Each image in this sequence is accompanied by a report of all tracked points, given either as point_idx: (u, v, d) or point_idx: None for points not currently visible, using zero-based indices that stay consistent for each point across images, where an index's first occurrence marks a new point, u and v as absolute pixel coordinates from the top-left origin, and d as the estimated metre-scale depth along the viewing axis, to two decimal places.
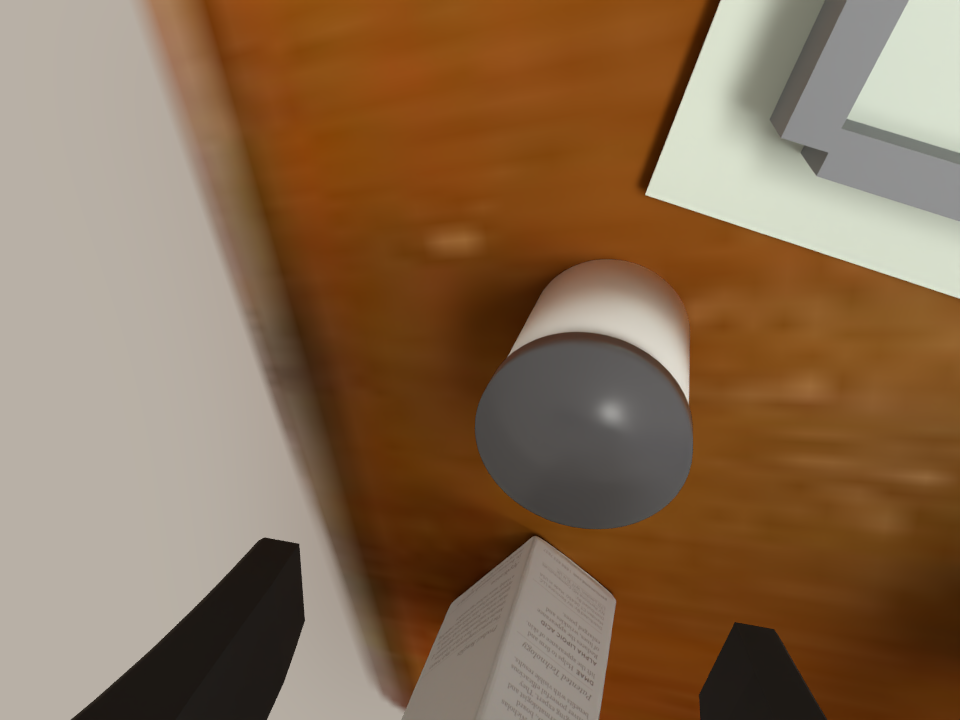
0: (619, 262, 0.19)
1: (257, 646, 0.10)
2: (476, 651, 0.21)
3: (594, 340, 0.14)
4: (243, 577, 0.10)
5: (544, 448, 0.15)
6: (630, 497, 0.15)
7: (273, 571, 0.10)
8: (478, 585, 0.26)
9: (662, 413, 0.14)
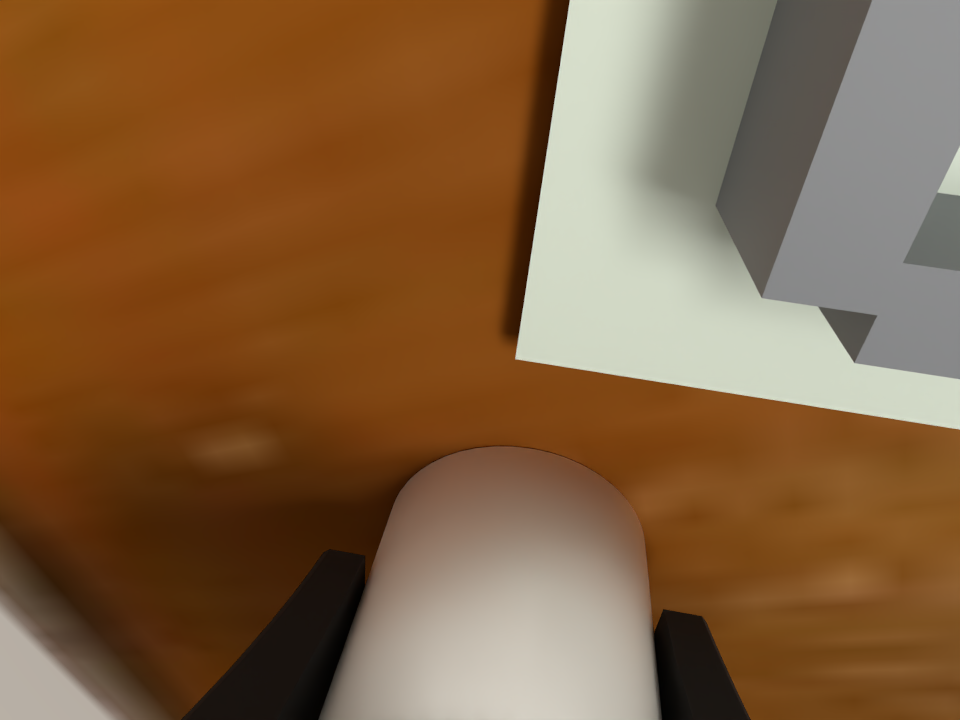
0: (502, 454, 0.11)
1: (330, 660, 0.10)
2: None
3: None
4: (315, 590, 0.10)
5: None
6: None
7: (344, 584, 0.10)
8: None
9: None
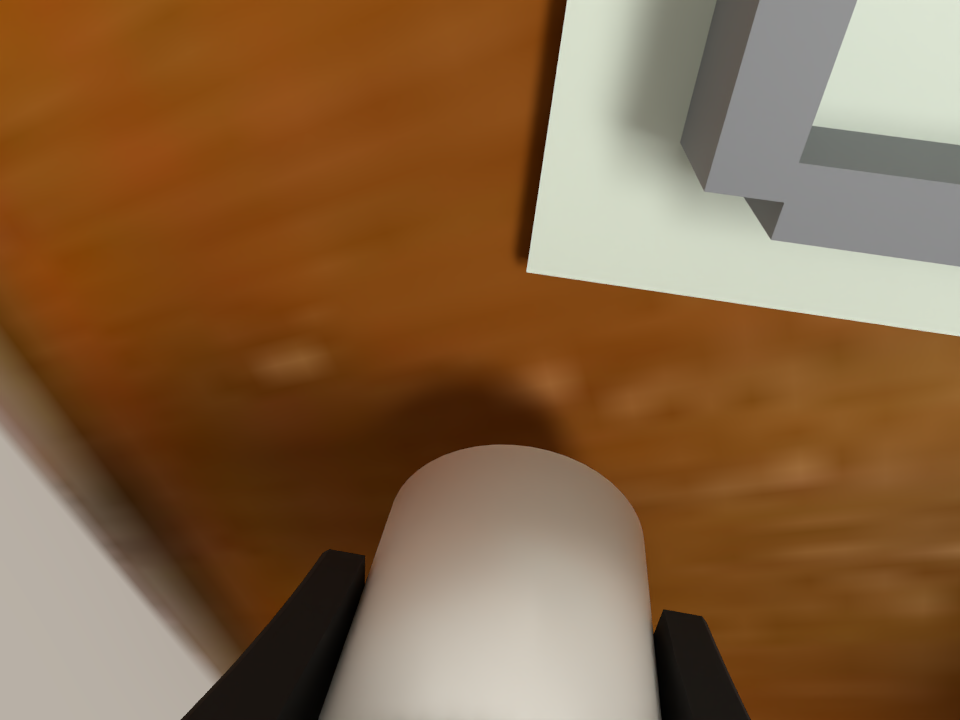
0: (502, 452, 0.11)
1: (330, 660, 0.10)
2: None
3: None
4: (315, 590, 0.10)
5: None
6: None
7: (344, 584, 0.10)
8: None
9: None
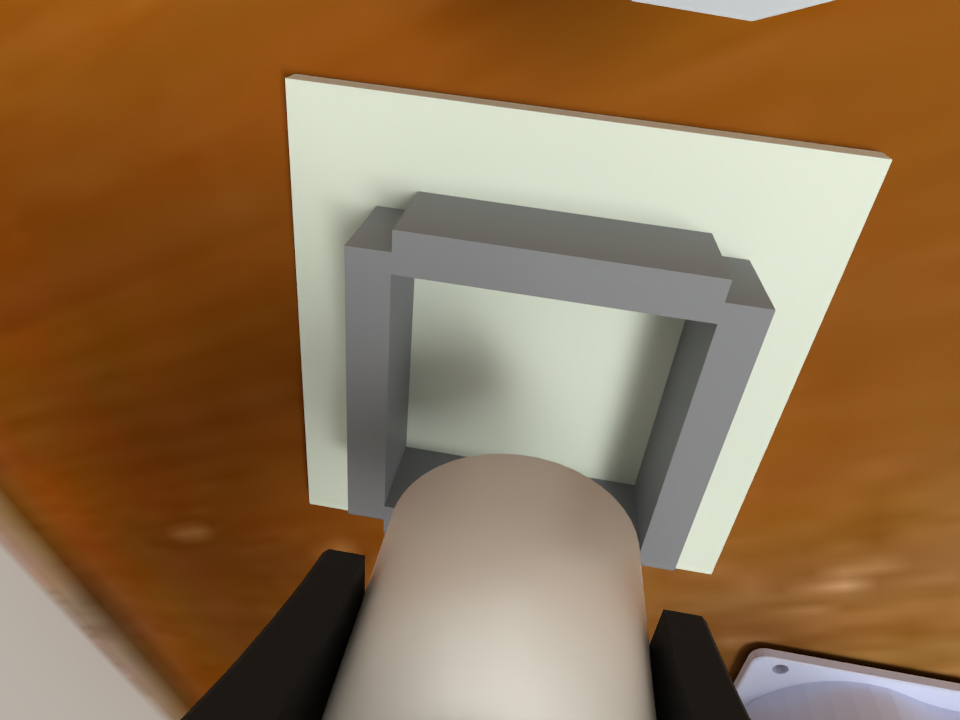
0: (510, 461, 0.11)
1: (330, 660, 0.10)
2: None
3: None
4: (315, 590, 0.10)
5: None
6: None
7: (343, 584, 0.10)
8: None
9: None
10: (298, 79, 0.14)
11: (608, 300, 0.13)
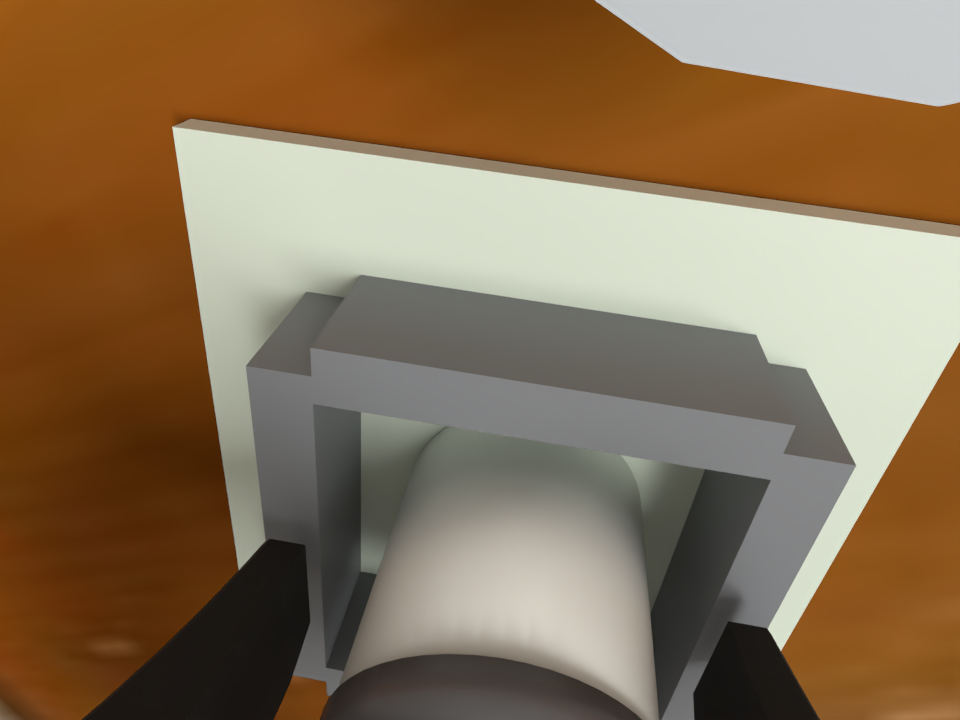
0: None
1: (264, 647, 0.10)
2: None
3: (480, 683, 0.08)
4: (250, 578, 0.10)
5: None
6: None
7: (280, 572, 0.10)
8: None
9: None
10: (190, 128, 0.11)
11: (617, 445, 0.10)
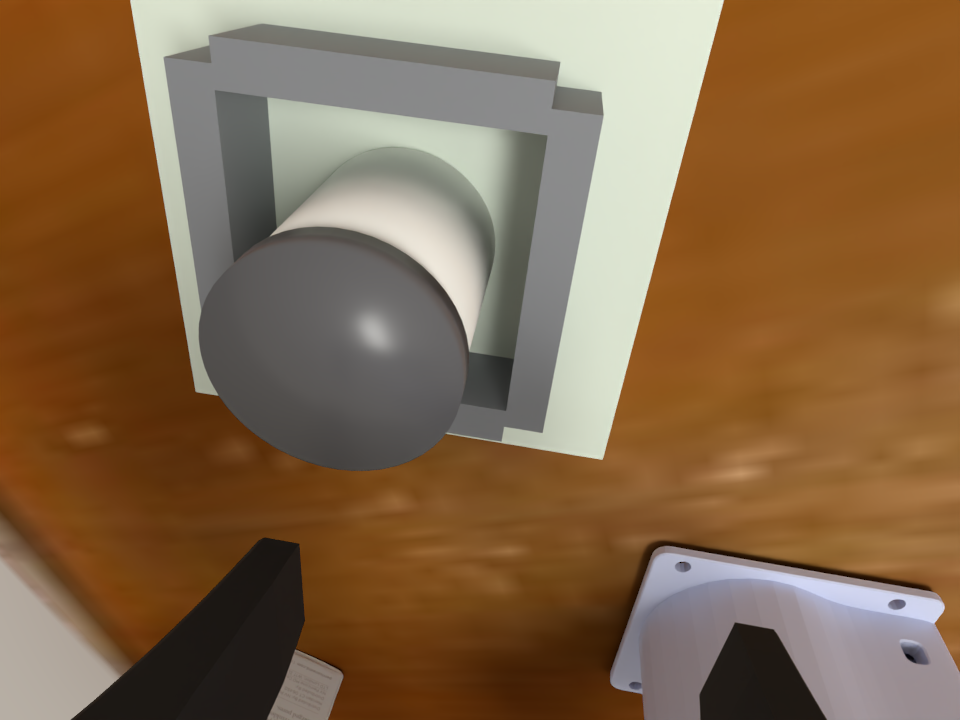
0: (396, 150, 0.16)
1: (257, 646, 0.10)
2: None
3: (317, 235, 0.11)
4: (243, 577, 0.10)
5: (291, 380, 0.12)
6: (405, 426, 0.13)
7: (273, 571, 0.10)
8: None
9: (413, 318, 0.11)
10: None
11: (435, 111, 0.13)
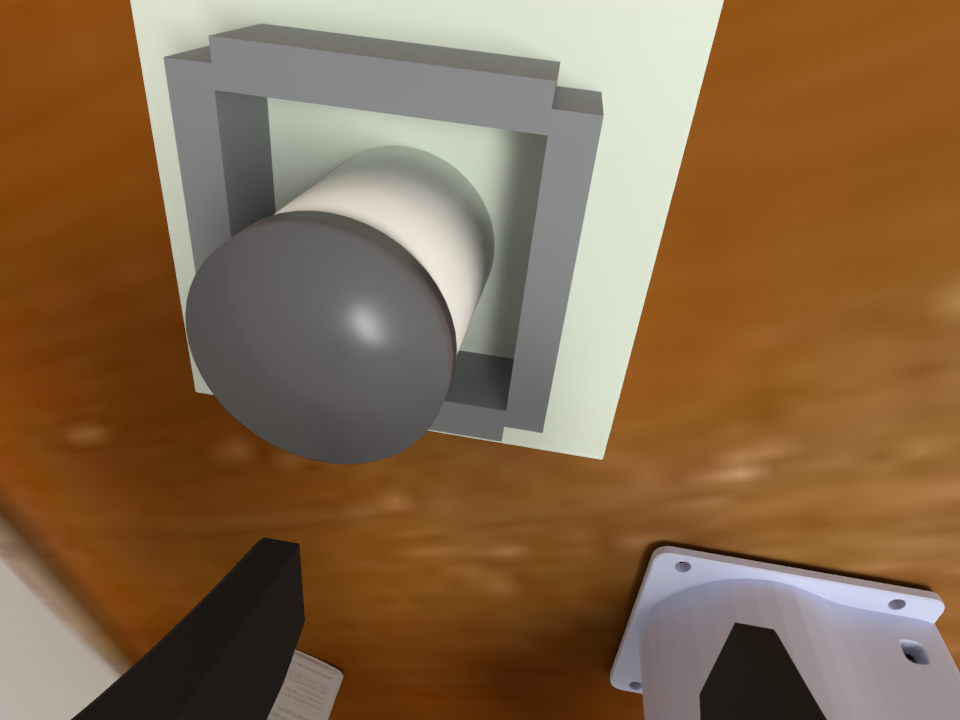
0: (401, 149, 0.16)
1: (257, 646, 0.10)
2: None
3: (312, 218, 0.11)
4: (243, 577, 0.10)
5: (276, 365, 0.12)
6: (387, 420, 0.12)
7: (273, 571, 0.10)
8: None
9: (402, 308, 0.11)
10: None
11: (435, 111, 0.13)
